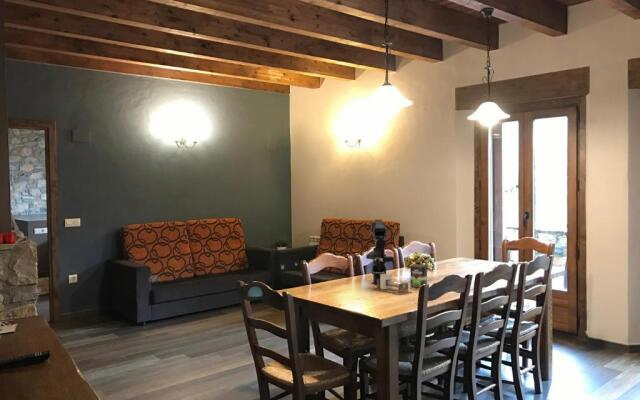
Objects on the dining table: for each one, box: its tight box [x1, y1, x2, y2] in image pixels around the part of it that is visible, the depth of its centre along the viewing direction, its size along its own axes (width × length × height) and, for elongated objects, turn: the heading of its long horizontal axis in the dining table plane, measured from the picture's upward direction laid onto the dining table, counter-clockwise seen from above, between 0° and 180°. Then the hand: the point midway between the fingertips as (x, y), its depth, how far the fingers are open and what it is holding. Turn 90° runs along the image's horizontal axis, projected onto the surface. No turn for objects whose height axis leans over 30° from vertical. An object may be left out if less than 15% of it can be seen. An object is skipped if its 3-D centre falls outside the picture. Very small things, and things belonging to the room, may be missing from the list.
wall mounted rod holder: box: [373, 279, 413, 296], centre depth 318 cm, size 22×10×6 cm, turn 38°
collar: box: [380, 272, 393, 289], centre depth 321 cm, size 3×7×9 cm, turn 128°
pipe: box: [386, 280, 406, 294], centre depth 318 cm, size 20×10×6 cm, turn 38°
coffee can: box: [409, 263, 428, 291], centre depth 326 cm, size 10×10×14 cm
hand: (379, 271), depth 326 cm, fingers closed
